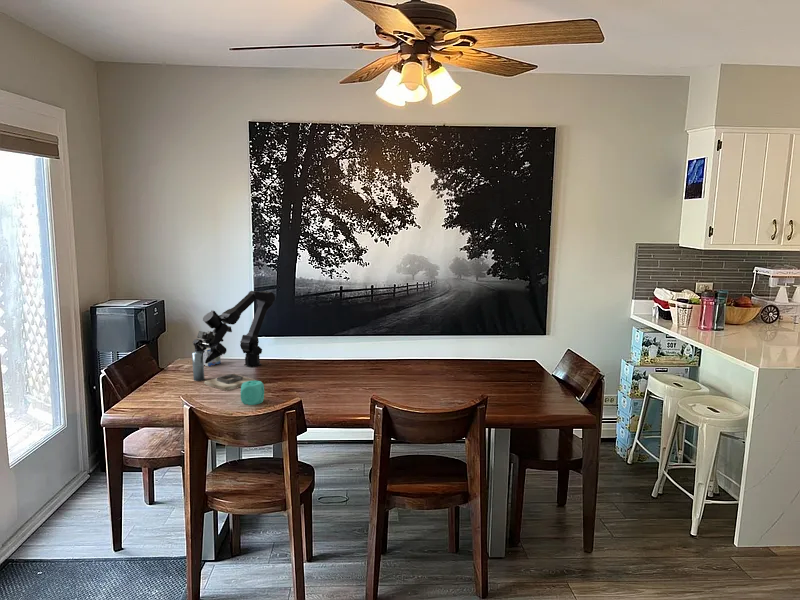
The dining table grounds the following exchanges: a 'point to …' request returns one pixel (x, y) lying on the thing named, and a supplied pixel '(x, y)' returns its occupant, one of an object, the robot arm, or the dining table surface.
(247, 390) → the decorative dice
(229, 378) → the collar base
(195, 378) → the shiny steel cylinder
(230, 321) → the robot arm
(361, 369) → the dining table surface
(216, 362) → the medicine box
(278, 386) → the dining table surface
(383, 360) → the dining table surface
